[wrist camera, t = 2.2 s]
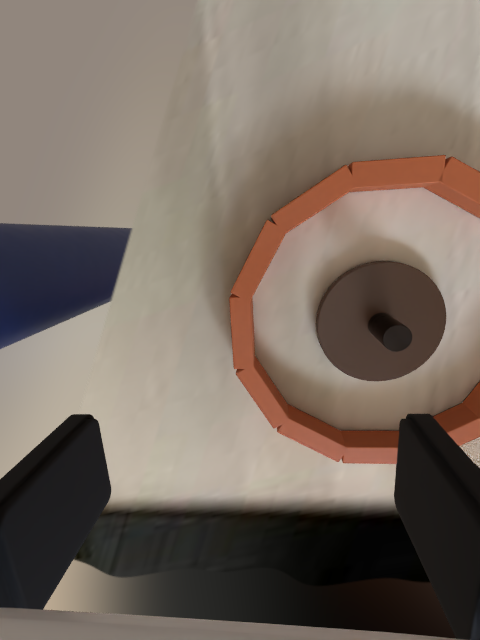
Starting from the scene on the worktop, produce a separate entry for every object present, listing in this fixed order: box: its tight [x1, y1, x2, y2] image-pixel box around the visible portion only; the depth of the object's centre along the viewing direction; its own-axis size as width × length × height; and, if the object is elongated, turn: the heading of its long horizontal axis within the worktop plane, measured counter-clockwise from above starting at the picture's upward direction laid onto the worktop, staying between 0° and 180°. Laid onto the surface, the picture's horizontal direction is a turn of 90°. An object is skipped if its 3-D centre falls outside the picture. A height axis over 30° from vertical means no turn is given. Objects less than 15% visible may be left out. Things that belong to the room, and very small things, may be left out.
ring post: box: [316, 261, 446, 381], centre depth 22 cm, size 9×9×4 cm
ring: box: [229, 155, 480, 464], centre depth 23 cm, size 22×22×2 cm
